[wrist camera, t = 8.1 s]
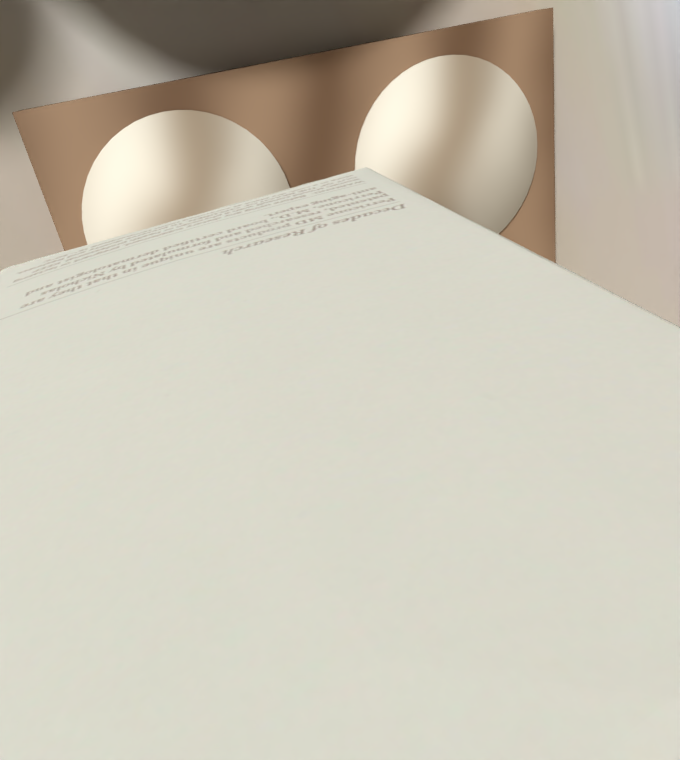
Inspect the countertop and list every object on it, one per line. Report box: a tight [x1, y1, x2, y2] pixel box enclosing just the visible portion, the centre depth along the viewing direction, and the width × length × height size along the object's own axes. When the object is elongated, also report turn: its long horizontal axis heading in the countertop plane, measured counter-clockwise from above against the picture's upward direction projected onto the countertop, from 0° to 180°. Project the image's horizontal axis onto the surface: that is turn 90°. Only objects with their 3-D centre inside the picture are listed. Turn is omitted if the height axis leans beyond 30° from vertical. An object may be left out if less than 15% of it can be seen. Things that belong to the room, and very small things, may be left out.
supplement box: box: [0, 167, 680, 760], centre depth 8 cm, size 7×7×13 cm
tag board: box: [13, 8, 555, 263], centre depth 30 cm, size 23×14×2 cm, turn 100°
